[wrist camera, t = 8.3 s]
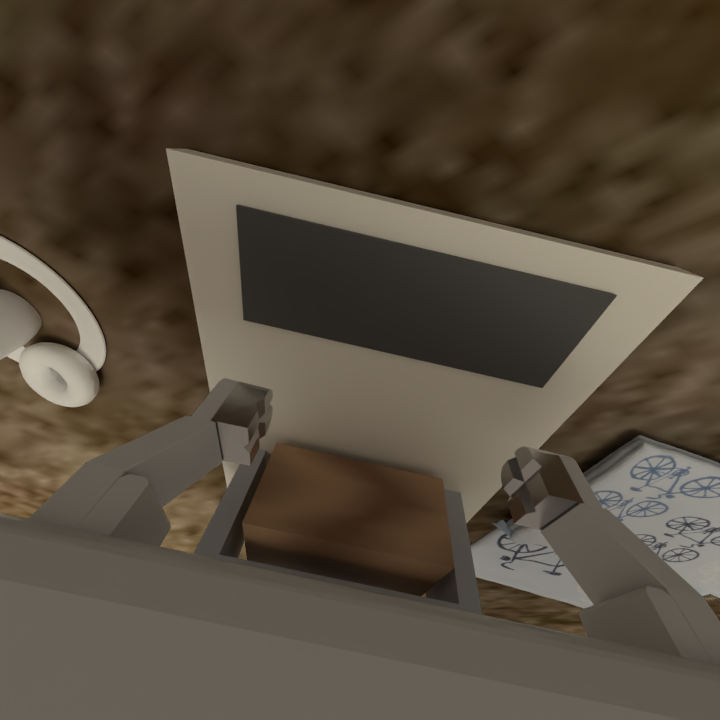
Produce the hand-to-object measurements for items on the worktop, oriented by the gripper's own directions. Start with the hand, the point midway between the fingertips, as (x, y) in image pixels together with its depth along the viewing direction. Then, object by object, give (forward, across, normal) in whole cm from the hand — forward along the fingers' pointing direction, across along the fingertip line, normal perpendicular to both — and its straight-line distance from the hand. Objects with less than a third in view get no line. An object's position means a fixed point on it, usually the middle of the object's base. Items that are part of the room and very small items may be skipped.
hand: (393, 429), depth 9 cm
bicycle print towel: (+5, -20, +12) cm, 24 cm away
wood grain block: (+2, 0, +12) cm, 12 cm away
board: (+4, 0, +8) cm, 9 cm away
